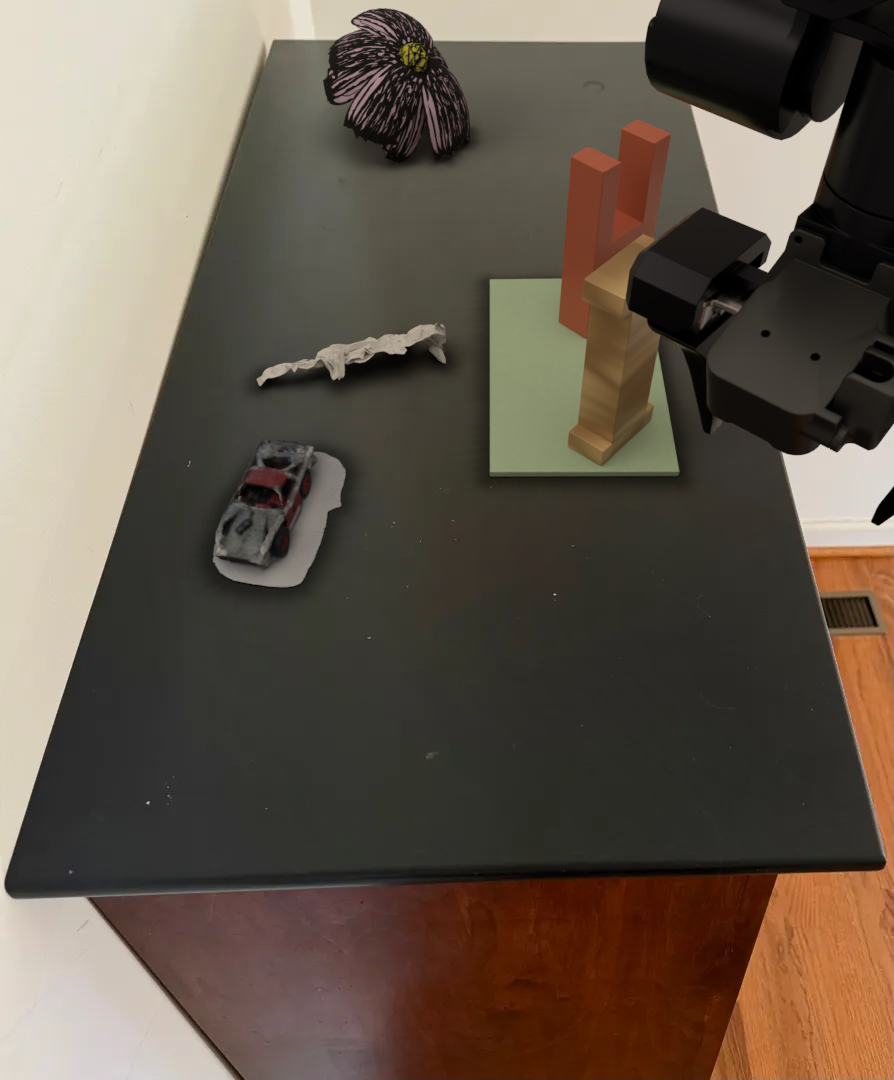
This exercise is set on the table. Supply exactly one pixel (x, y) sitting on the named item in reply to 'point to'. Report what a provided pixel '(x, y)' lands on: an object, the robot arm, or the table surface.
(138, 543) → the table surface
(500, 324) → the word mat
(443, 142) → the decorative flower
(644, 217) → the letter H
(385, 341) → the paper
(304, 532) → the toy car
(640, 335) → the letter I
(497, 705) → the table surface
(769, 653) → the table surface
